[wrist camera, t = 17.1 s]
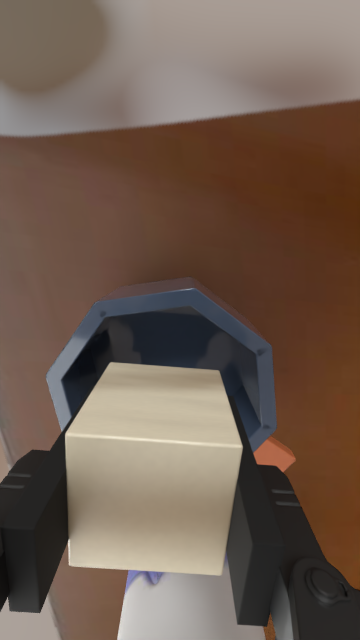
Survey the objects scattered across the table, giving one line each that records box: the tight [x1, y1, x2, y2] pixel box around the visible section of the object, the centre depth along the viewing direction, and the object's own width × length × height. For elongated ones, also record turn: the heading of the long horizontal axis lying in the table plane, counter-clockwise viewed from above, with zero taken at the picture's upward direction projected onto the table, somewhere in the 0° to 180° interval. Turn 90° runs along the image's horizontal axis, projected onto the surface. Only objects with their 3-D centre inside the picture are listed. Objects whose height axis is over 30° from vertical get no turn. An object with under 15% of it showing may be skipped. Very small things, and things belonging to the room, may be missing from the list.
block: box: [65, 362, 243, 576], centre depth 11 cm, size 5×5×5 cm
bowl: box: [46, 277, 296, 472], centre depth 17 cm, size 13×11×5 cm
